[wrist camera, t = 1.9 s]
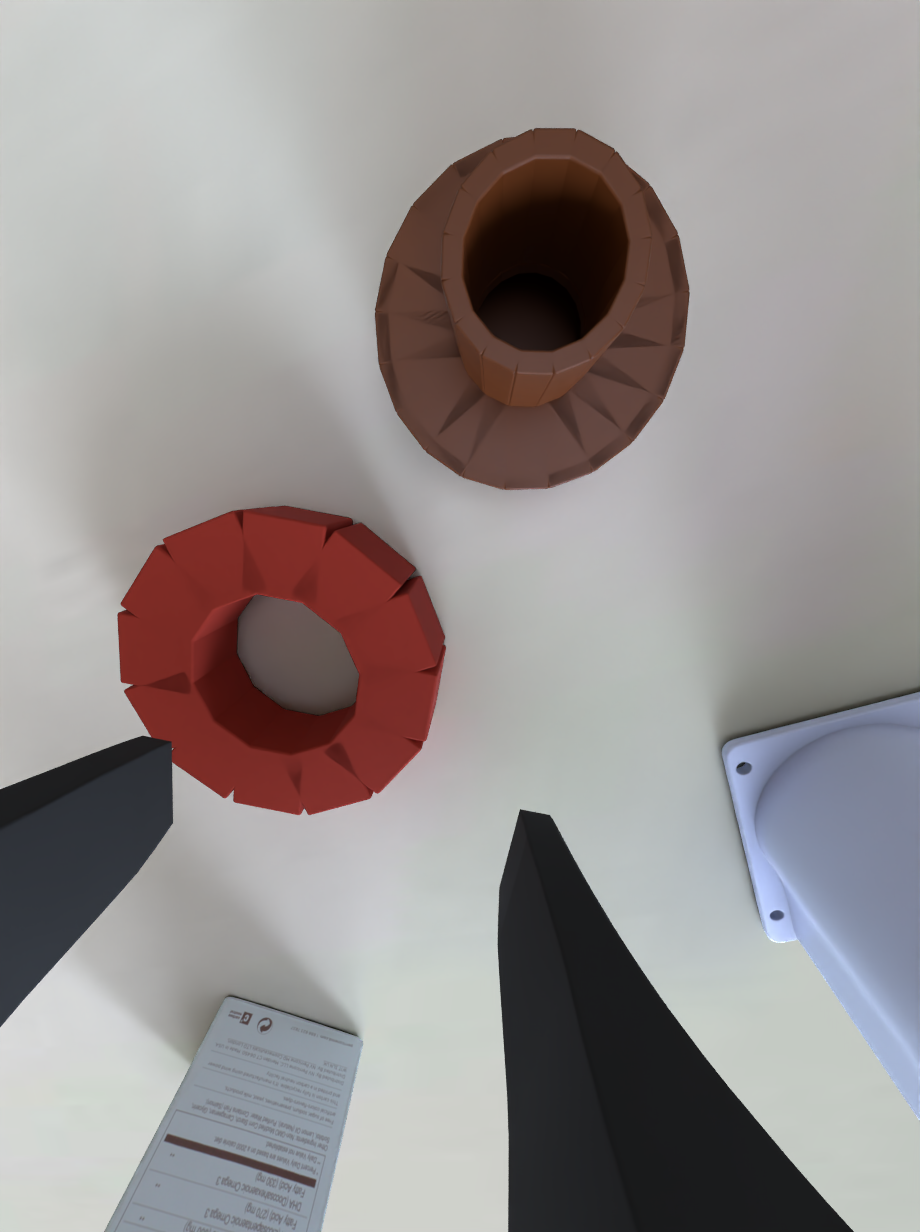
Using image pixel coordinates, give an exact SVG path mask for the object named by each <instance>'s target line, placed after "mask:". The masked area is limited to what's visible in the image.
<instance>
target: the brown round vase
mask: <svg viewBox="0 0 920 1232" xmlns="http://www.w3.org/2000/svg"><path fill="white" fill-rule="evenodd" d="M688 304H689V285H688V280H687V275H686V270H685V264H684V259H683V254H682V249H681V244H680V239H679V236H678V232H677V230H676V229H675V227H674V225H673V223H672V222H671V220H670V218H669V216H668V215H667V213H666V211H665V209H664V208H663V206H662V204H661V202H660V200H659V199H658V197H657V195H656V193H655V192H654V190H653V188H652V187H651V186H650V184H649V183H648V182H647V181H646V180H644V179H643V178H642V177H641V176H640V175H638V174H637V173H636V172H635V171H634V170H632V169H631V168H630V167H629V166H628V165H626V164H625V162H624V161H623V159H622V158H621V156H620V155H619V153H618V152H615V150H614V148H612V147H610V146H608V145H606V144H604V143H603V142H601V141H599V140H597V139H595V138H594V137H592V136H590V135H588V134H586V133H585V132H583V131H581V130H577V132H576V129H574V128H535V129H534V130H528V131H526V132H524V133H522V134H520V135H518V136H516V137H510V138H504V139H503V140H502V139H500V140H498V141H496V142H494V143H492V144H490V145H488V146H486V147H484V148H482V149H480V150H478V151H476V152H474V153H472V154H470V155H468V156H466V157H464V158H462V159H460V160H458V161H456V162H454V163H453V165H450V166H449V167H448V168H447V169H446V170H445V171H444V172H443V174H442V175H441V176H440V177H439V178H438V179H437V180H436V181H435V182H434V183H433V184H432V185H431V186H430V187H429V188H428V189H427V190H426V191H425V192H424V193H423V194H422V195H421V196H420V197H419V198H418V199H417V200H416V201H415V202H414V204H413V206H411V208H410V210H409V212H408V214H407V216H406V218H405V220H404V222H403V224H402V226H401V227H400V229H399V231H398V233H397V235H396V237H395V239H394V241H393V243H392V245H391V247H390V249H389V251H388V253H387V257H386V258H385V263H384V268H383V273H382V278H381V283H380V288H379V293H378V298H377V303H376V308H375V311H376V312H375V321H376V335H377V348H378V361H379V365H380V370H381V373H382V375H383V378H384V381H385V383H386V386H387V389H388V392H389V394H390V397H391V400H392V402H393V405H394V408H395V411H396V412H397V414H398V416H399V417H400V419H401V420H402V421H403V423H404V424H405V425H406V427H407V428H408V429H409V431H410V432H411V433H412V434H413V436H414V437H415V438H416V440H417V441H418V442H419V444H420V445H421V446H422V448H423V449H424V450H426V452H427V453H428V454H430V455H431V456H433V457H434V458H435V459H437V460H438V461H440V462H441V463H442V464H444V465H445V466H447V467H448V468H450V469H451V470H452V471H454V472H455V473H457V474H458V475H459V476H462V477H463V478H466V479H469V480H473V481H476V482H479V483H483V484H486V485H489V486H492V487H496V488H499V489H502V490H503V489H505V490H521V489H547V488H552V487H555V486H557V485H560V484H563V483H566V482H568V481H571V480H574V479H577V478H579V477H582V476H585V475H588V474H590V473H592V472H594V471H596V470H597V469H598V468H600V467H601V466H602V465H604V464H605V463H606V462H608V461H609V460H610V459H611V458H613V457H614V456H615V455H617V454H618V453H619V452H621V451H622V450H623V449H625V448H626V447H627V446H629V445H630V444H631V443H632V442H633V441H634V440H635V439H636V437H637V436H638V435H639V433H640V432H641V431H642V429H643V428H644V427H645V425H646V424H647V423H648V421H649V420H650V418H651V417H652V416H653V414H654V413H655V412H656V410H657V409H658V408H659V406H660V405H661V404H662V402H663V400H664V399H665V397H666V394H667V392H668V389H669V386H670V384H671V381H672V379H673V376H674V373H675V371H676V368H677V366H678V363H679V361H680V358H681V355H682V353H683V348H684V346H685V335H686V325H687V314H688Z"/></svg>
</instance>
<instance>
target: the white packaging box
mask: <svg viewBox="0 0 920 1232" xmlns="http://www.w3.org/2000/svg"><path fill="white" fill-rule="evenodd" d="M362 1047H363V1041H362V1040H361V1039H360V1038H359V1037H357V1036H354V1035H351V1034H348V1033H345V1032H342V1031H339V1030H337V1029H333V1028H330V1027H326V1026H324V1025H321V1024H318V1023H314V1022H311V1021H308V1020H305V1019H302V1018H299V1017H296V1016H293V1015H290V1014H287V1013H284V1012H281V1011H277V1010H274V1009H271V1008H268V1007H264V1006H261V1005H258V1004H255V1003H251V1002H248V1001H245V1000H242V999H238V998H234V997H226V998H225V999H224V1001H223V1003H222V1005H221V1007H220V1009H219V1010H218V1012H217V1014H216V1016H215V1018H214V1020H213V1022H212V1024H211V1026H210V1028H209V1030H208V1032H207V1034H206V1036H205V1038H204V1040H203V1042H202V1044H201V1046H200V1047H199V1049H198V1051H197V1053H196V1055H195V1057H194V1059H193V1061H192V1063H191V1065H190V1067H189V1069H188V1071H187V1073H186V1075H185V1077H184V1079H183V1081H182V1083H181V1085H180V1087H179V1089H178V1091H177V1093H176V1095H175V1097H174V1098H173V1100H172V1102H171V1104H170V1106H169V1108H168V1110H167V1112H166V1114H165V1116H164V1118H163V1120H162V1121H161V1123H160V1125H159V1127H158V1129H157V1131H156V1133H155V1135H154V1137H153V1139H152V1141H151V1143H150V1144H149V1146H148V1148H147V1150H146V1152H145V1154H144V1156H143V1158H142V1160H141V1162H140V1164H139V1166H138V1167H137V1169H136V1171H135V1173H134V1175H133V1177H132V1179H131V1181H130V1183H129V1185H128V1187H127V1189H126V1190H125V1192H124V1194H123V1196H122V1198H121V1200H120V1202H119V1204H118V1206H117V1208H116V1210H115V1212H114V1214H113V1216H112V1218H111V1219H110V1221H109V1223H108V1225H107V1227H106V1229H105V1231H104V1232H321V1231H322V1226H323V1222H324V1218H325V1213H326V1209H327V1204H328V1200H329V1195H330V1191H331V1186H332V1182H333V1177H334V1173H335V1168H336V1164H337V1159H338V1155H339V1150H340V1146H341V1142H342V1137H343V1132H344V1128H345V1123H346V1119H347V1114H348V1110H349V1105H350V1101H351V1096H352V1092H353V1087H354V1083H355V1078H356V1074H357V1069H358V1065H359V1060H360V1056H361V1052H362Z"/></svg>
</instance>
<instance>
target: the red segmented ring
mask: <svg viewBox="0 0 920 1232" xmlns="http://www.w3.org/2000/svg"><path fill="white" fill-rule="evenodd" d="M163 542H164V544H162V545H157V546H156V547H155V548H154V550H153V551H152V553H151V554H150V556H149V558H148V559H147V561H146V563H145V564H144V566H143V568H142V569H141V571H140V572H139V574H138V576H137V577H136V579H135V581H134V582H133V584H132V586H131V587H130V589H129V590H128V592H127V594H126V595H125V597H124V599H123V600H122V602H121V605H122V606H123V607H124V608H125V609H127V610H125V611H122V612H119V613H118V634H119V654H120V674H121V682H122V683H127V684H132V686H130V687H129V688H127V689H125V690H124V692H125V694H126V696H127V697H128V699H129V701H130V702H131V704H132V706H133V707H134V709H135V711H136V712H137V714H138V716H139V717H140V719H141V721H142V722H143V724H144V726H145V727H146V729H147V730H148V732H149V734H150V735H151V737H152V738H157V739H162V740H167V741H172V748H174V749H173V750H172V762H173V763H174V764H176V765H177V766H178V767H180V768H181V769H183V770H184V771H186V772H187V773H189V774H190V775H191V776H193V777H194V778H196V779H197V780H199V781H200V782H201V783H203V784H204V785H206V786H207V787H209V788H210V789H212V790H213V791H214V792H216V793H217V794H219V795H220V796H222V797H223V798H227V797H228V796H229V794H230V793H231V792H232V791H233V790H234V799H233V801H234V802H235V803H240V804H245V805H250V806H255V807H261V808H266V809H271V810H276V811H281V812H286V813H291V814H296V815H300V814H301V813H302V811H303V809H304V808H305V810H306V812H307V813H308V815H312V814H315V813H319V812H323V811H326V810H330V809H334V808H338V807H341V806H345V805H349V804H353V803H356V802H360V801H364V800H367V799H370V798H371V797H372V794H373V791H374V792H375V793H377V794H378V793H380V792H381V791H382V790H383V789H384V788H385V787H386V786H387V785H388V784H389V783H390V781H391V780H392V779H393V778H394V777H395V776H396V775H397V774H398V773H399V772H400V771H401V770H402V769H403V768H404V767H405V766H406V765H407V764H408V763H409V762H410V761H411V760H412V759H413V758H414V757H415V756H416V755H417V753H418V752H419V751H420V750H421V749H422V745H423V741H426V739H427V736H428V732H429V728H430V724H431V720H432V716H433V713H434V709H435V705H436V700H437V694H438V689H439V683H440V678H441V672H442V667H443V661H444V655H445V650H446V647H445V646H444V645H443V642H444V639H445V636H444V633H443V630H442V628H441V625H440V623H439V620H438V617H437V615H436V612H435V610H434V607H433V605H432V602H431V599H430V597H429V594H428V592H427V589H426V587H425V584H424V581H423V579H422V577H421V576H417V577H415V578H412V579H409V580H408V578H409V577H410V576H411V575H412V573H413V572H414V571H415V569H416V568H415V567H414V566H413V565H411V564H410V563H409V562H408V561H407V560H405V559H404V558H403V557H402V556H401V555H399V554H398V553H397V552H396V551H395V550H393V549H392V548H391V547H390V546H389V545H387V544H386V543H385V542H384V541H383V540H381V539H380V538H379V537H378V536H377V535H375V534H374V533H373V532H372V531H371V530H369V529H368V528H367V527H366V526H365V525H363V524H362V523H358V524H355V525H352V519H351V518H347V517H342V516H337V515H331V514H326V513H321V512H315V511H310V510H305V509H300V508H294V507H289V506H278V507H264V508H255V509H245V510H236V511H231V512H228V513H226V514H223V515H221V516H218V517H216V518H213V519H211V520H208V521H206V522H203V523H201V524H198V525H196V526H193V527H191V528H188V529H186V530H183V531H181V532H178V533H176V534H173V535H171V536H168V537H166V538H164V539H163ZM257 594H258V595H264V596H269V597H274V598H279V599H284V600H290V601H295V602H300V603H303V604H304V605H305V606H307V607H308V608H309V609H311V610H312V611H313V612H314V613H316V614H317V615H318V616H319V617H321V618H322V619H323V620H325V621H326V622H327V623H328V624H330V625H331V626H332V627H333V628H335V629H336V630H337V631H339V632H340V633H341V635H342V637H343V639H344V642H345V644H346V646H347V648H348V650H349V653H350V655H351V657H352V659H353V662H354V664H355V666H356V668H357V670H358V673H359V679H358V687H357V695H356V702H355V703H354V704H353V705H352V706H350V707H347V708H344V709H341V710H337V711H334V712H331V713H328V714H324V715H321V716H317V715H311V714H306V713H301V712H296V711H291V710H286V709H283V708H282V707H281V706H279V705H278V704H277V703H275V702H274V701H273V700H271V699H270V698H268V697H267V696H266V695H264V694H263V693H262V692H260V691H259V690H258V689H256V688H255V687H254V686H253V684H252V682H251V680H250V678H249V676H248V675H247V673H246V671H245V669H244V667H243V665H242V663H241V661H240V659H239V657H238V655H237V623H238V617H239V616H240V614H241V613H242V611H243V610H244V609H245V607H246V606H247V604H248V603H249V602H250V600H251V599H252V597H253V596H254V595H257Z"/></svg>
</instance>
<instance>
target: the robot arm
mask: <svg viewBox="0 0 920 1232" xmlns="http://www.w3.org/2000/svg"><path fill="white" fill-rule="evenodd" d="M722 757H723V761H724V766H725V770H726V774H727V778H728V783H729V787H730V791H731V795H732V799H733V804H734V808H735V812H736V816H737V821H738V825H739V829H740V833H741V838H742V842H743V846H744V850H745V854H746V859H747V863H748V867H749V871H750V876H751V880H752V884H753V888H754V893H755V897H756V901H757V905H758V909H759V914H760V918H761V922H762V926H763V929H764V931H765V933H766V934H767V936H768V938H769V939H770V940H772V941H775V942H787V941H793V940H799V941H800V943H801V944H802V946H803V947H804V949H805V950H806V952H807V953H808V955H809V956H810V958H811V959H812V961H813V962H814V964H815V965H816V967H817V968H818V970H819V971H820V973H821V974H822V976H823V977H824V979H825V980H826V982H827V983H828V985H829V986H830V988H831V989H832V991H833V992H834V994H835V995H836V997H837V998H838V1000H839V1001H840V1003H841V1004H842V1006H843V1007H844V1009H845V1010H846V1012H847V1013H848V1015H849V1016H850V1018H851V1019H852V1021H853V1022H854V1024H855V1025H856V1027H857V1028H858V1030H859V1031H860V1033H861V1034H862V1036H863V1037H864V1039H865V1040H866V1042H867V1043H868V1045H869V1046H870V1048H871V1049H872V1050H873V1052H874V1053H875V1055H876V1056H877V1058H878V1059H879V1061H880V1062H881V1064H882V1065H883V1067H884V1068H885V1070H886V1071H887V1073H888V1074H889V1076H890V1077H891V1079H892V1080H893V1082H894V1083H895V1085H896V1086H897V1088H898V1089H899V1091H900V1092H901V1094H902V1095H903V1097H904V1098H905V1100H906V1101H907V1103H908V1104H909V1106H910V1107H911V1109H912V1110H913V1112H914V1113H915V1115H916V1116H917V1117H918V1119H919V1120H920V692H917V693H913V694H909V695H905V696H901V697H897V698H893V699H890V700H886V701H882V702H878V703H874V704H870V705H866V706H862V707H858V708H854V709H850V710H846V711H842V712H839V713H835V714H831V715H827V716H823V717H819V718H815V719H811V720H807V721H803V722H799V723H795V724H792V725H788V726H784V727H780V728H776V729H772V730H768V731H764V732H760V733H756V734H752V735H748V736H745V737H741V738H737V739H733V740H731V741H728V742H727V743H726V744H725V745H724V747H723V749H722ZM742 762H746V763H745V764H744V766H742V767H740V768H736V767H737V766H738V764H740V763H742ZM172 824H173V795H172V741H167V740H162V739H157V738H151V737H146V736H141V737H137V738H134V739H131V740H128V741H125V742H122V743H120V744H117V745H114V746H111V747H109V748H106V749H103V750H101V751H98V752H96V753H93V754H90V755H88V756H85V757H83V758H80V759H77V760H75V761H72V762H70V763H67V764H65V765H62V766H60V767H57V768H54V769H52V770H49V771H47V772H44V773H41V774H39V775H36V776H34V777H31V778H28V779H26V780H23V781H21V782H18V783H16V784H13V785H10V786H8V787H5V788H3V789H0V1027H1V1026H2V1025H3V1023H4V1022H5V1021H6V1020H7V1019H8V1017H9V1016H10V1015H11V1014H12V1013H13V1012H14V1010H15V1009H16V1008H17V1007H18V1006H19V1005H20V1003H21V1002H22V1001H23V1000H24V999H25V998H26V996H27V995H28V994H29V993H30V992H31V991H32V990H33V989H34V988H35V986H36V985H37V984H38V983H39V982H40V981H41V980H42V979H43V978H44V976H45V975H46V974H47V973H48V972H49V971H50V970H51V969H52V968H53V967H54V965H55V964H56V963H57V962H58V961H59V960H60V959H61V958H62V957H63V955H64V954H65V953H66V952H67V951H68V950H69V949H70V948H71V947H72V945H73V944H74V943H75V942H76V941H77V940H78V939H79V938H80V937H81V935H82V934H83V933H84V932H85V931H86V930H87V929H88V928H89V927H90V925H91V924H92V923H93V922H94V921H95V920H96V919H97V918H98V917H99V916H100V914H101V913H102V912H103V911H104V910H105V909H106V908H107V907H108V905H109V904H110V903H111V902H112V901H113V900H114V899H115V898H116V896H117V895H118V894H119V893H120V892H121V891H122V890H123V889H124V887H125V886H126V885H127V884H128V883H129V882H130V881H131V879H132V878H133V877H134V876H135V875H136V874H137V872H138V871H139V870H140V868H141V867H142V866H143V864H144V863H145V862H146V860H147V859H148V858H149V856H150V855H151V854H152V852H153V851H154V849H155V848H156V847H157V845H158V844H159V842H160V841H161V839H162V838H163V837H164V835H165V834H166V832H167V831H168V829H169V828H170V826H171V825H172ZM498 960H499V976H500V992H501V1008H502V1023H503V1038H504V1053H505V1069H506V1084H507V1101H508V1130H509V1199H508V1232H854V1231H853V1230H852V1229H851V1228H850V1227H849V1226H848V1225H847V1224H846V1223H845V1222H844V1220H843V1219H842V1218H841V1217H840V1216H839V1215H838V1214H837V1213H836V1212H835V1211H834V1209H833V1208H832V1207H831V1206H830V1205H829V1204H828V1203H827V1202H826V1201H825V1200H824V1198H823V1197H822V1196H821V1195H820V1194H819V1193H818V1192H817V1190H816V1189H815V1188H814V1187H813V1186H812V1185H811V1184H810V1182H809V1181H808V1180H807V1179H806V1178H805V1177H804V1176H803V1174H802V1173H801V1172H800V1171H799V1170H798V1169H797V1168H796V1166H795V1165H794V1164H793V1163H792V1162H791V1161H790V1160H789V1158H788V1157H787V1156H786V1155H785V1154H784V1152H783V1151H782V1150H781V1149H780V1148H779V1146H778V1145H777V1144H776V1143H775V1142H774V1141H773V1139H772V1138H771V1137H770V1136H769V1135H768V1133H767V1132H766V1131H765V1130H764V1129H763V1127H762V1126H761V1125H760V1124H759V1123H758V1121H757V1120H756V1119H755V1118H754V1117H753V1115H752V1114H751V1113H750V1112H749V1111H748V1109H747V1108H746V1107H745V1106H744V1105H743V1104H742V1102H741V1101H740V1100H739V1099H738V1098H737V1096H736V1095H735V1094H734V1093H733V1092H732V1090H731V1089H730V1088H729V1087H728V1086H727V1084H726V1083H725V1082H724V1080H723V1079H722V1078H721V1077H720V1075H719V1074H718V1073H717V1072H716V1070H715V1069H714V1068H713V1067H712V1065H711V1064H710V1063H709V1062H708V1060H707V1059H706V1058H705V1057H704V1055H703V1054H702V1053H701V1051H700V1050H699V1049H698V1047H697V1046H696V1045H695V1043H694V1042H693V1041H692V1039H691V1038H690V1037H689V1035H688V1034H687V1033H686V1031H685V1030H684V1029H683V1027H682V1026H681V1025H680V1023H679V1022H678V1021H677V1019H676V1018H675V1017H674V1015H673V1014H672V1013H671V1011H670V1010H669V1009H668V1007H667V1006H666V1004H665V1003H664V1002H663V1000H662V999H661V997H660V996H659V994H658V993H657V992H656V990H655V989H654V987H653V986H652V984H651V983H650V981H649V980H648V979H647V977H646V976H645V974H644V973H643V971H642V970H641V968H640V967H639V965H638V964H637V962H636V961H635V959H634V958H633V956H632V955H631V953H630V952H629V950H628V949H627V947H626V945H625V944H624V942H623V941H622V939H621V938H620V936H619V934H618V933H617V931H616V930H615V928H614V926H613V925H612V923H611V922H610V920H609V918H608V917H607V915H606V913H605V912H604V910H603V908H602V907H601V905H600V903H599V902H598V900H597V898H596V897H595V895H594V893H593V892H592V890H591V888H590V886H589V885H588V883H587V881H586V879H585V878H584V876H583V874H582V872H581V871H580V869H579V867H578V865H577V863H576V862H575V860H574V858H573V856H572V854H571V852H570V851H569V849H568V847H567V845H566V843H565V841H564V839H563V838H562V836H561V834H560V832H559V830H558V828H557V826H556V824H555V822H554V821H553V819H552V818H551V816H550V815H546V814H541V813H536V812H531V811H526V810H521V809H520V811H519V815H518V819H517V823H516V827H515V831H514V834H513V838H512V842H511V846H510V850H509V853H508V857H507V861H506V865H505V869H504V872H503V876H502V880H501V884H500V889H499V914H498Z"/></svg>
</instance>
